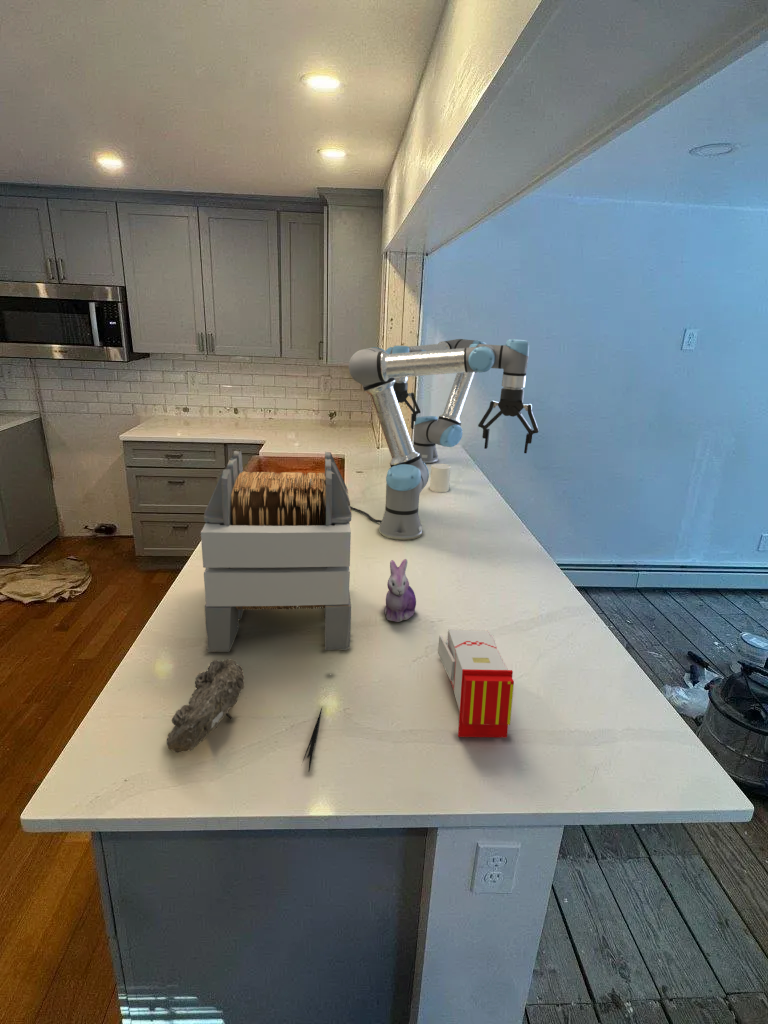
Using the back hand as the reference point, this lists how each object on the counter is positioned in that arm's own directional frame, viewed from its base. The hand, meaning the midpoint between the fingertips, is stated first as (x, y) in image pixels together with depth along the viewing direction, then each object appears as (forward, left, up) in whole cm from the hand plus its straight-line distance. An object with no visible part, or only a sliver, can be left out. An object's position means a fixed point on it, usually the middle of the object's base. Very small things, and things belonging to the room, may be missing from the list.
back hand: (397, 428), depth 262 cm
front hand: (+70, +30, +7) cm, 76 cm away
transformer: (+130, -41, -23) cm, 138 cm away
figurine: (+129, -11, -23) cm, 131 cm away
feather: (+169, -30, -23) cm, 173 cm away
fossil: (+167, -51, -23) cm, 176 cm away
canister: (+20, +18, -23) cm, 35 cm away
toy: (+161, +1, -23) cm, 162 cm away
